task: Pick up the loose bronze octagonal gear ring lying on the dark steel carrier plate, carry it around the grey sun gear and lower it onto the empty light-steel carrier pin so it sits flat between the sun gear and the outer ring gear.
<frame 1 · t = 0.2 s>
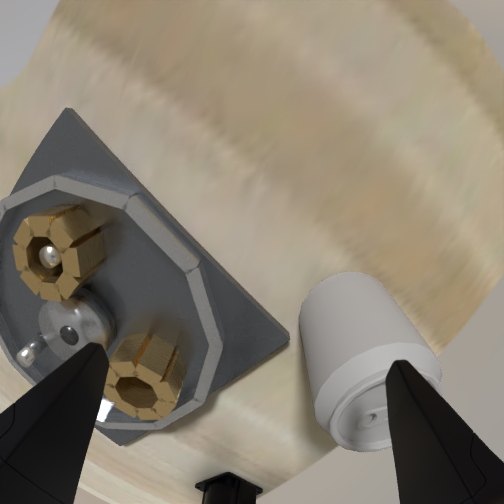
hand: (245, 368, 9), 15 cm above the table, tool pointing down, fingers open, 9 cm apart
sun gear: (82, 320, 25), resting on carrier
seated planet: (71, 243, 23), resting on carrier
carrier: (87, 315, 26), on the table
planet gear: (150, 363, 26), point 1 cm above the table, touching carrier
can: (343, 309, 25), on the table
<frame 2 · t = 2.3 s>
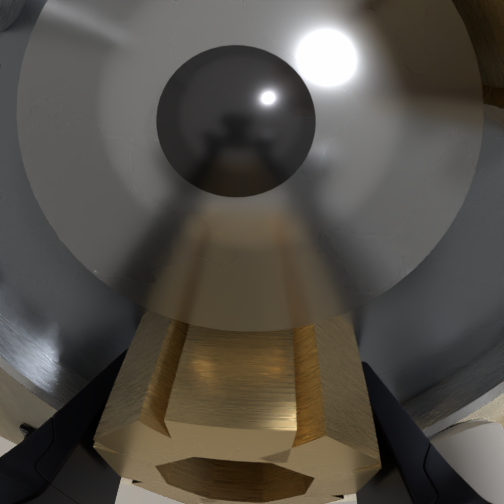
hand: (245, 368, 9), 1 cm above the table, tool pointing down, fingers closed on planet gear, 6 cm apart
sun gear: (249, 102, 6), resting on carrier
carrier: (251, 99, 7), on the table
planet gear: (245, 359, 9), point 1 cm above the table, touching carrier, gripper
can: (448, 440, 15), on the table
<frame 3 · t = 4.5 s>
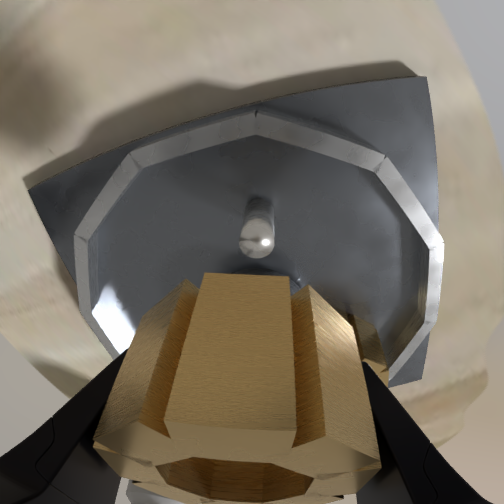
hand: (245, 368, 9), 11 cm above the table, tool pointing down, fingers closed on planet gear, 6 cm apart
sun gear: (256, 309, 22), resting on carrier
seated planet: (336, 346, 23), resting on carrier
carrier: (257, 299, 22), on the table
planet gear: (245, 359, 9), point 11 cm above the table, touching gripper
can: (177, 424, 33), on the table
when the fingers open (3 cm above the table, at t = 6.5 s): planet gear drops 1 cm, resting on carrier.
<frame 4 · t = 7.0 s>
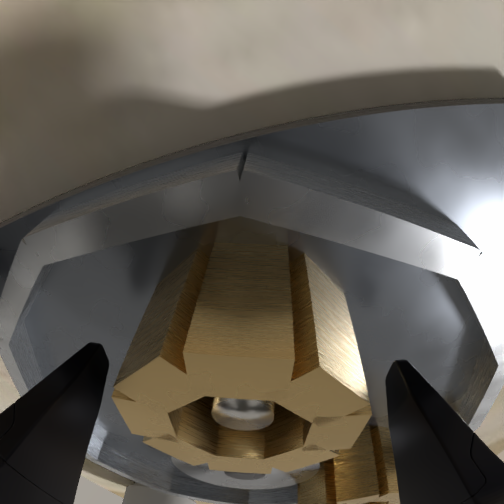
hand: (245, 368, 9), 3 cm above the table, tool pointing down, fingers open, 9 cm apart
sun gear: (248, 425, 14), resting on carrier
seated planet: (351, 451, 16), resting on carrier
carrier: (249, 409, 15), on the table
planet gear: (249, 326, 11), point 1 cm above the table, touching carrier
can: (163, 489, 26), on the table
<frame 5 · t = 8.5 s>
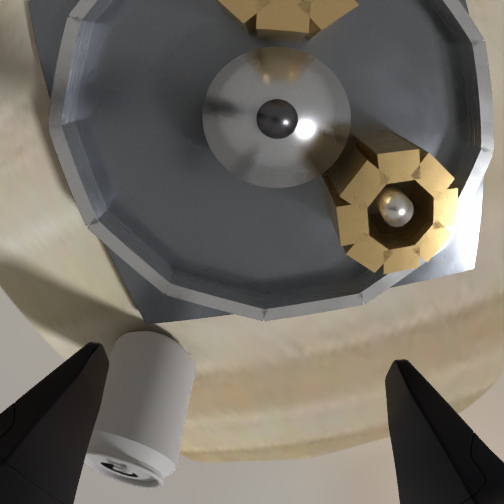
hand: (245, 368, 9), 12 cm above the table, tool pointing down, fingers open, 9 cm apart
sun gear: (275, 112, 16), resting on carrier
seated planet: (377, 186, 17), resting on carrier
carrier: (275, 110, 16), on the table
can: (156, 352, 27), on the table
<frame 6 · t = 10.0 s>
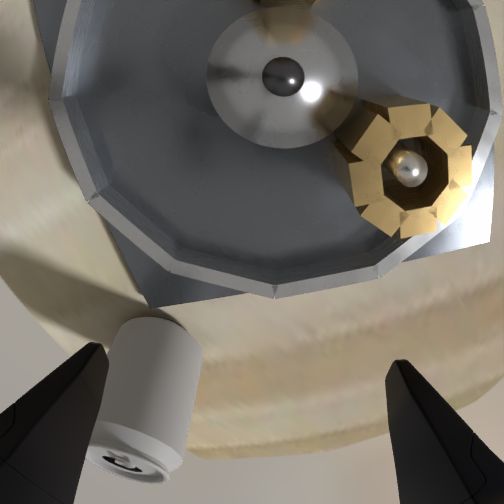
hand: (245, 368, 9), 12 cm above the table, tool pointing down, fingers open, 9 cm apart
sun gear: (281, 76, 15), resting on carrier
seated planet: (388, 151, 16), resting on carrier
carrier: (280, 76, 15), on the table
can: (162, 340, 26), on the table
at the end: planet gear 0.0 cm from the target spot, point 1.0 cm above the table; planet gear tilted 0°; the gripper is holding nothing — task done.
